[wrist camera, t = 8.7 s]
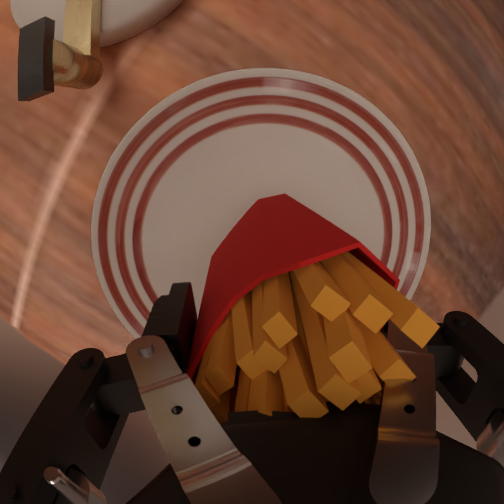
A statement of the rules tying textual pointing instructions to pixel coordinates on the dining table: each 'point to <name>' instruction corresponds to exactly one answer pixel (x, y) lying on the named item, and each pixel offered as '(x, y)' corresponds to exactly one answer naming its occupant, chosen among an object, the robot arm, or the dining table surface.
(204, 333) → the french fries
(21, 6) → the crank housing
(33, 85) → the crank
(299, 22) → the dining table surface
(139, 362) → the robot arm
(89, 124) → the dining table surface
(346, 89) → the dinner plate
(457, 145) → the dining table surface
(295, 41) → the dining table surface
